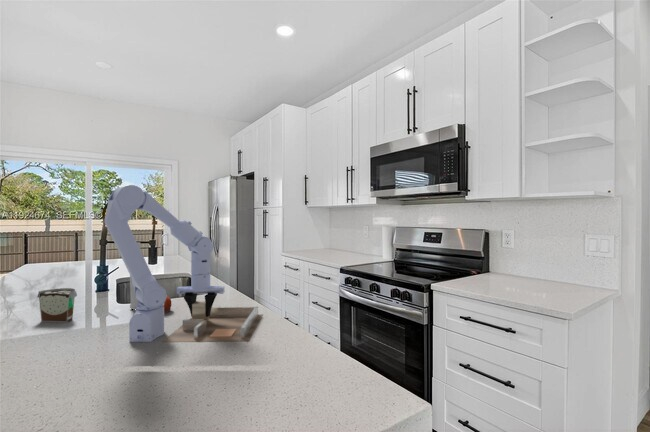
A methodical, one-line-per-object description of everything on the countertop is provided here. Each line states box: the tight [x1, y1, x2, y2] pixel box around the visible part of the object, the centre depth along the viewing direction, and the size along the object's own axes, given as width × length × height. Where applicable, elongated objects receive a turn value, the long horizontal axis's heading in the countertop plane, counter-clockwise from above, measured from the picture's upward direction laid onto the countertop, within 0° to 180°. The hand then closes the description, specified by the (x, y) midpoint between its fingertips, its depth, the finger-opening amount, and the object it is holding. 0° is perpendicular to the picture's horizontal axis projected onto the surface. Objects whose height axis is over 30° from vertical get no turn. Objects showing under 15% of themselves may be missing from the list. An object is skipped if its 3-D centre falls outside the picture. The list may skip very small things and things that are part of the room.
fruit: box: [164, 295, 172, 315], centre depth 117 cm, size 8×8×8 cm
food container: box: [36, 287, 78, 323], centre depth 113 cm, size 12×6×10 cm, turn 84°
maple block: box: [191, 300, 209, 321], centre depth 106 cm, size 4×4×6 cm
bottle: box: [129, 242, 141, 310], centre depth 125 cm, size 5×5×25 cm
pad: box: [210, 329, 236, 337], centre depth 96 cm, size 6×6×1 cm
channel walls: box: [182, 306, 259, 339], centre depth 102 cm, size 21×20×3 cm
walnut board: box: [161, 314, 264, 343], centre depth 102 cm, size 24×24×1 cm
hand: (200, 315), depth 106 cm, fingers closed on maple block, 4 cm apart
